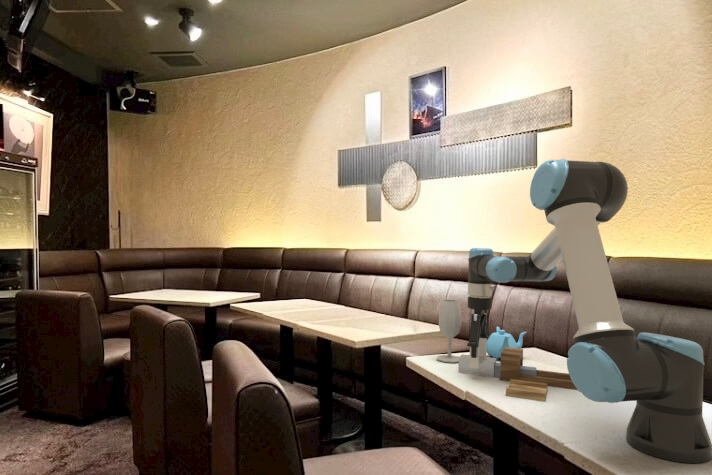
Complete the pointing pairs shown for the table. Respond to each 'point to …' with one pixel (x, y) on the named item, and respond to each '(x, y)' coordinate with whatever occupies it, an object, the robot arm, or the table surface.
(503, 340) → the teapot
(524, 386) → the tan tray
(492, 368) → the block
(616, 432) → the table surface
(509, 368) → the brown wooden forked piece
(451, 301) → the wineglass
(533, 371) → the block
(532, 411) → the table surface
